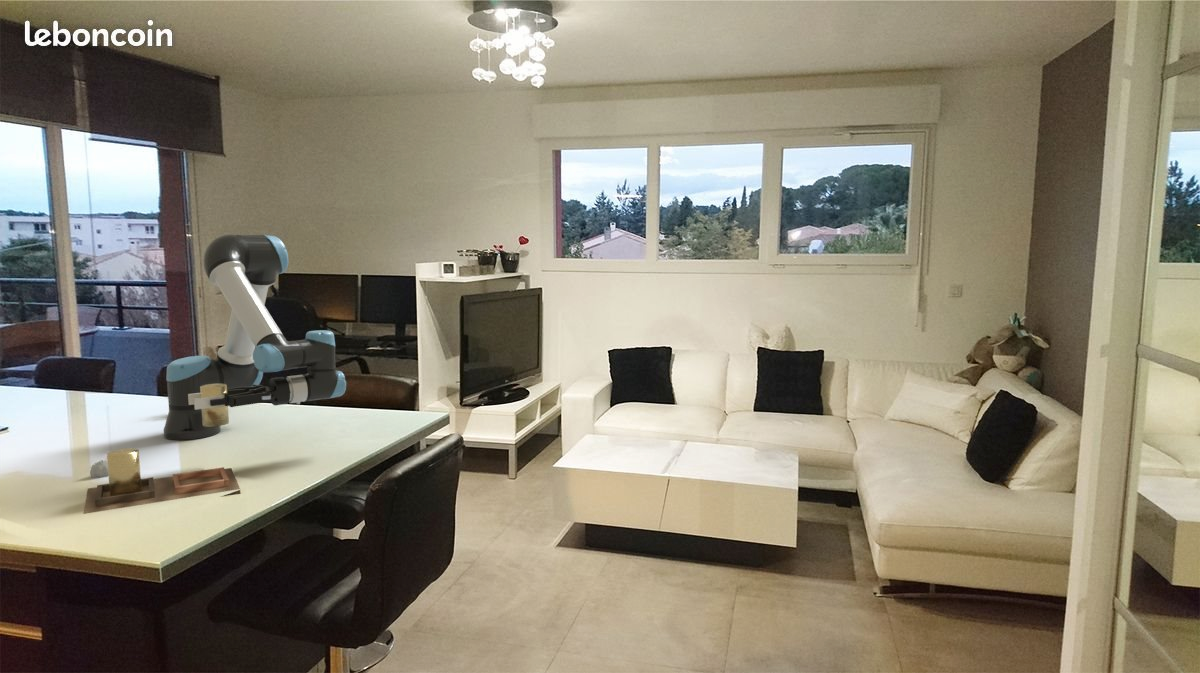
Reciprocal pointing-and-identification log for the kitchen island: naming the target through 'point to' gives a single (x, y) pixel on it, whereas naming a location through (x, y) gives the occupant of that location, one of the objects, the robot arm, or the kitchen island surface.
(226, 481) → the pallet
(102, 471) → the garlic
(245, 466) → the kitchen island surface
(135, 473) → the cylinder
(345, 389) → the robot arm
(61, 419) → the kitchen island surface
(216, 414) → the brass billet
